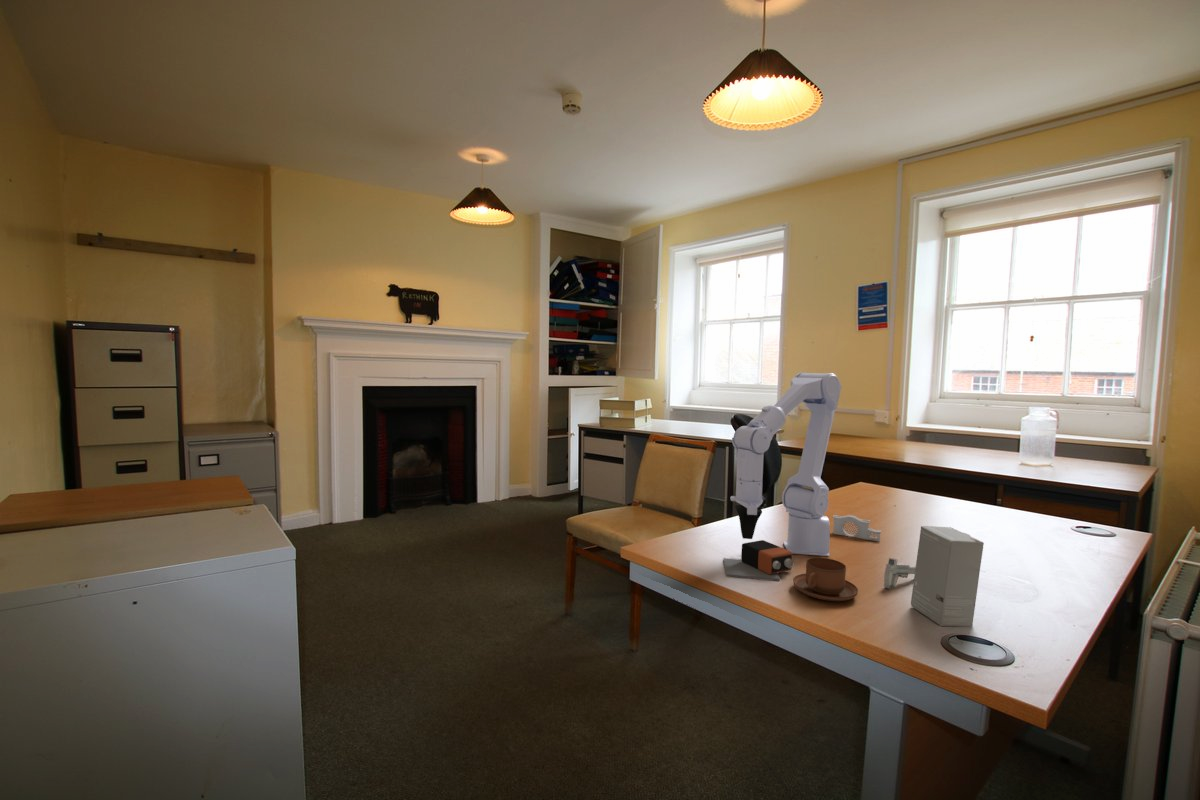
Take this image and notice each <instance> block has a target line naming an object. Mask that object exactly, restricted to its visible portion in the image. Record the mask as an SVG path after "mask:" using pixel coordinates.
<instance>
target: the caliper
mask: <svg viewBox="0 0 1200 800" xmlns="http://www.w3.org/2000/svg"><path fill="white" fill-rule="evenodd" d="M887 562H888V563H886V565H885V571H884V577H883V578H884V580H883V587H884V588H885V589H888V590H891V588H892V589H895V588H896V586H897V583H898V580H899V578H902V579H903V578H905V579H907V578H908V577H909V575H915V569H916V565H909V564H906V563H898V559H896V558H890V557H889V558H888V561H887Z"/></svg>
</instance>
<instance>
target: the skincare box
mask: <svg viewBox="0 0 1200 800" xmlns="http://www.w3.org/2000/svg"><path fill="white" fill-rule="evenodd" d="M984 545H985V543H984V542H983V541H982V540H979V539H977V538H975V537H973V536H971V534H969V533H965V532H962V531H959V530H958V529H955V528H954V527H951V526H949V527H948V526H933V525H921V526H920V532H919V541H918V546H917V555H916V561H915V562H916V563H915V566H916V569H915V574H914V576H913V583H912V584H913V585H912V591H911V592H912V594H911V599H910V605H911V607H912V608H913V609H914V610H917V611H918V612H920V613H921V614H922V615H924V616H926V617H927V618H928V619H930V620H931V621H933V622H934V623H936V624H938V625H939V626H940V627H941V626H942V627H949V626H950V627H954V626H956V627H970V626H971V627H972V626H973V623H974V617H975V616H974V615H975V609H976V602H977V594H978V588H979V582H980V581H979V580H980V579H979V578H980V571H981V566H982V565H981V564H982V558H983V551H984Z"/></svg>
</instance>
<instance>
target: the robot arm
mask: <svg viewBox="0 0 1200 800" xmlns="http://www.w3.org/2000/svg"><path fill="white" fill-rule="evenodd" d="M841 390H842V384H841V382H840V379H839V377H838V376H837V375H836V374H835V373H833V372H829V373H820V372H819V373H818V372H817V373H809V372H803V371H802V372H798V373H796V375H795V376H794V377H793V378H791V380H790V386H789V388H788V389H787V390H786V391H785V392H784V393H783V395H782V396H781V397H780V398H779V399H778V401H777V402H776V403H775V404H774V405H766V406H763V407H762V408H761V411H760V412H759V413H758V414H756V416H755V417H754V418H753V419H751V420H750V421H749V423H748V424H747V425H742V426H740V427H739V428H737V429H736V430H735V432H734V433H733V437H732V438H731V443H732V446H733V447H734V451H735V453H734V456H735V457H736V458H737V459H736V483H735V484H736V488H735V495H731V496H730V501H731V502H736V503H737V504H736V505H734V507H735V510H736V512H737V516H738V519H739V526H740V532H741V537H742V539H743V540H744V539H746V540H747V539H749V540H753V537H754V536H755V535H754V534H755V530H756V527H757V523H758V520H759V519H760V517H761V515H762V513H763V511H762V508H761V505H762V504H763V500H764V499H763V481H764V480H763V476H764V475H763V474H764V456H765V455H764V454H765V452H767V451H768V450H769V448H770V445H771V441H772V440H773V437H774V436H775V435H776V433H778V431H779V430H780V429H781V428H782V427H784V425H785V424H786V421H787V419H786V418H787V417H786V416H788V414H790V413H791V412H792V411H793V410H795V408H796V407H798V406H799V405H800V404H801V403H802V404H803V405H804V407H806V408H807V409H808V410H809V411H810V417H809V421H808V425H807V431H806V435H805V439H804V444H803V448H802V454H801V457H800V462H799V466H798V470H797V471H798V472H797V473H796V474H794V475H792V476H791V477H790V478H788V480H787V483H786V485H785V488H784V490H783V492H782V494H781V502H782V505H783V506H784V508H785V510H786V511H785V512H786V513H788V521H787V522H788V523H787V524H788V525H787V541H783V542H782V543H783V545H784V547H785V549H786V550H789V551H791V552H792V555H793V554H795V555H807V556H808V555H810V556H821V557H822V556H825V557H830V555H831V554H830V542H831V541H830V539H831V538H830V537H831V535H830V534H831V526H830V525H831V524H830V519H829V517H828V516H827V515H824V514H826V513H827V511H828V508H829V491H830V488H829V486H827V484H826V483H825V482H824V481H823V479H822V478H821V476H822V473H823V467H824V464H825V458H826V455H827V454H826V453H827V450H828V445H829V440H830V435H831V431H832V425H833V422H834V417H835V412H836V410H837V408H838V405H839V400H840V396H841ZM806 487H807V488H806ZM811 488H812V489H811Z"/></svg>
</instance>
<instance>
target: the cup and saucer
mask: <svg viewBox="0 0 1200 800" xmlns="http://www.w3.org/2000/svg"><path fill="white" fill-rule="evenodd" d="M805 563H806V564H805V573H802V574H797V575H795V576H794V577H793V578H792V583H793V586H795V588H796V589H797V590H799V591H800V593H802V594H804V595H806V596H808V597H811V598H814V599H818V600H820V601H821V600H822V601H828V602H844V601H845V602H846V601H849V600H851V599H853V598H856V597H857V595H858V593H859V589H858V587H857V586H856V585H855V584H854V583H852V582H851V581H848V580H846V576H847V575H846V572H847V566H846V565H845V564H844V563H843V562H841V561H840V560H839V561H838V560H836V559H832V558H828V557H810V558H807V559H806V561H805Z"/></svg>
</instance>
